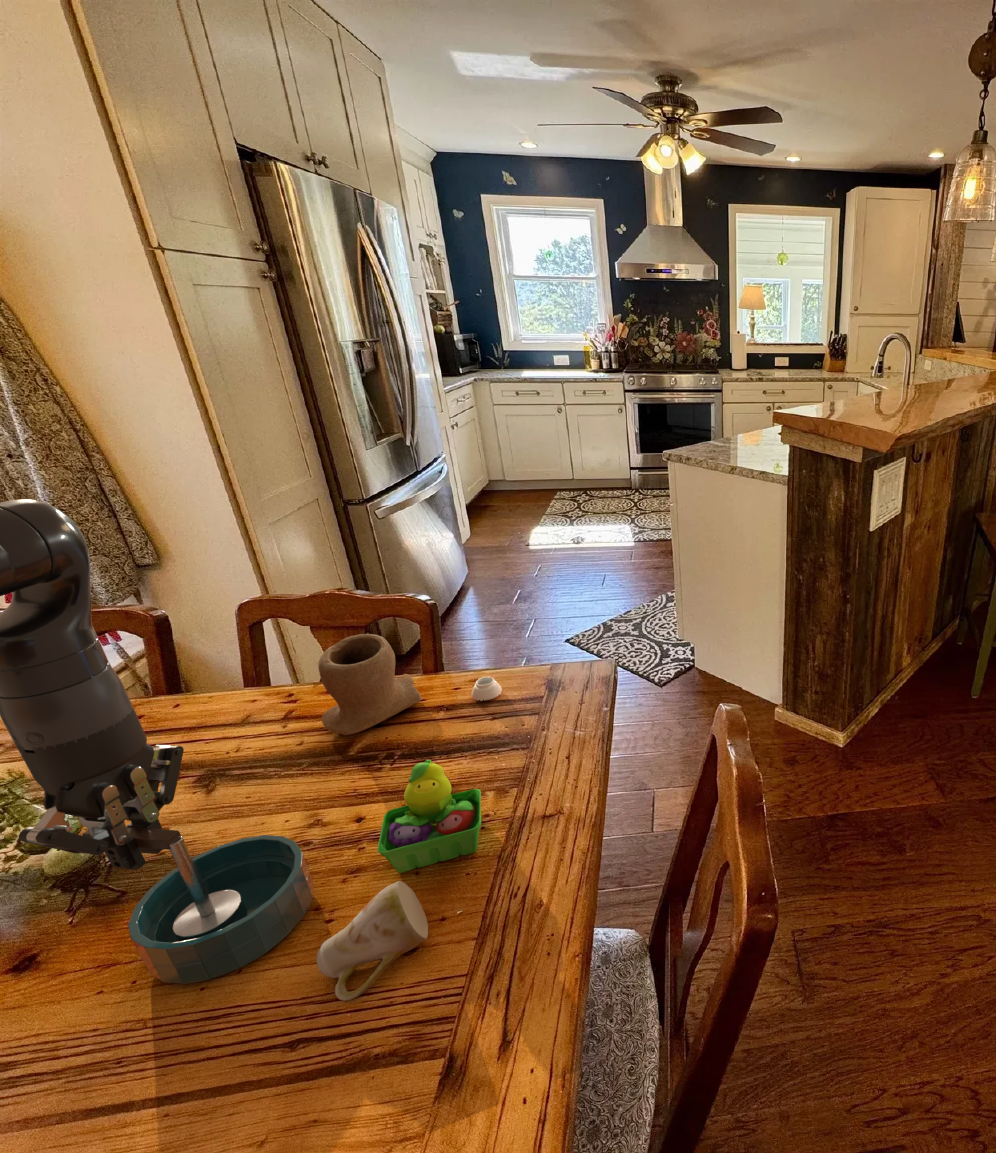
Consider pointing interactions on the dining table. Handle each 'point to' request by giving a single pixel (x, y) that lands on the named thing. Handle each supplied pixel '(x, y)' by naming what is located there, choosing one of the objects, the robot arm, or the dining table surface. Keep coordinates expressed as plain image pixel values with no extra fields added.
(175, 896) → the bowl
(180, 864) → the rod with disc base
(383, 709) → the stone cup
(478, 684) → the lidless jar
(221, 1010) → the dining table surface
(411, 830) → the fruit basket
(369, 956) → the mug
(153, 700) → the dining table surface
